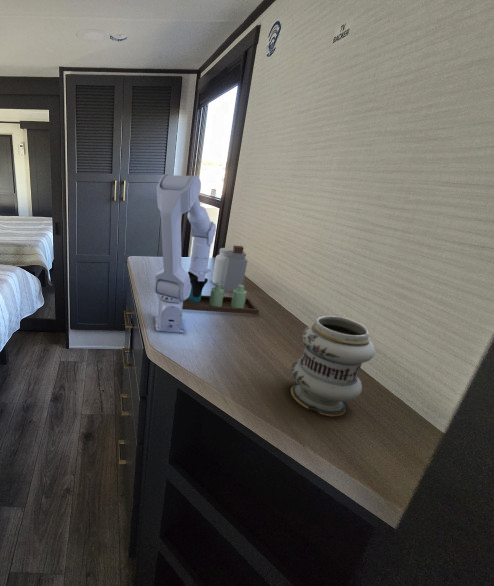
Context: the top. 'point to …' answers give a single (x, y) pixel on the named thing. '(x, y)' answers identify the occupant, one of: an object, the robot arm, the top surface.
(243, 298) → the green bottle far
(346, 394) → the apothecary jar
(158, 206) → the robot arm
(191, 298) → the teal bottle
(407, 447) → the top surface
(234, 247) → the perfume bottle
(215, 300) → the green bottle middle
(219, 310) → the tray
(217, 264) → the pill bottle
